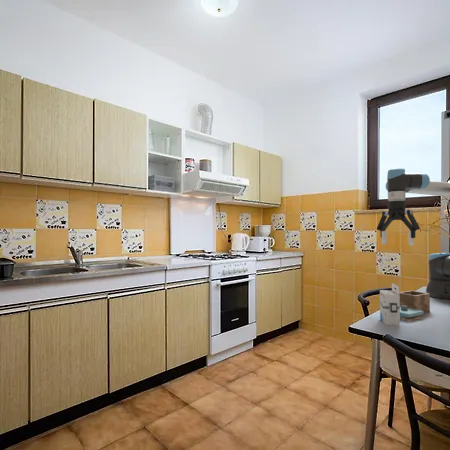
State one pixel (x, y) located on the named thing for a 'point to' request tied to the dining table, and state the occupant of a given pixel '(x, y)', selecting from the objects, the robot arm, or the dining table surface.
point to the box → (415, 300)
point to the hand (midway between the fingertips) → (397, 244)
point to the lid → (409, 312)
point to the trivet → (411, 318)
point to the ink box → (390, 306)
